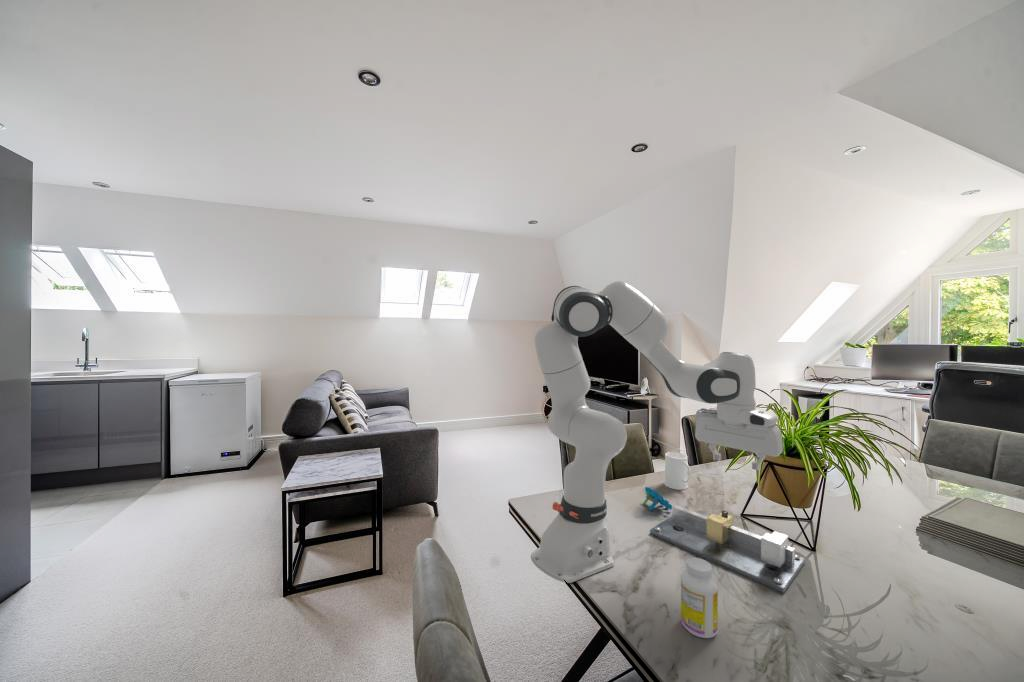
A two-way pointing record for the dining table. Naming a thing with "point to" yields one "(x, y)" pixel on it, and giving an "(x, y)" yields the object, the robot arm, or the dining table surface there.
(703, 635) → the supplement bottle
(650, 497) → the gear
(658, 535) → the bolt plate
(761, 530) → the dining table surface
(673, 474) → the mug
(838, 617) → the dining table surface
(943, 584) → the dining table surface
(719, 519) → the block
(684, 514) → the trammel bar
